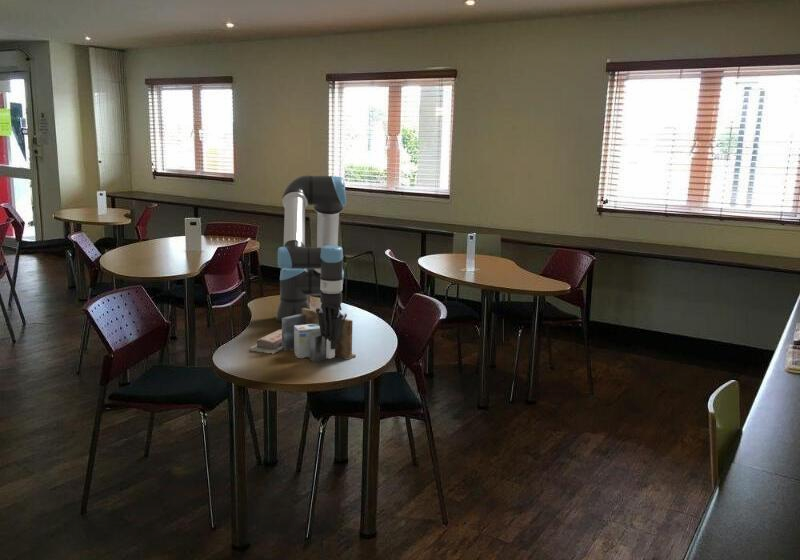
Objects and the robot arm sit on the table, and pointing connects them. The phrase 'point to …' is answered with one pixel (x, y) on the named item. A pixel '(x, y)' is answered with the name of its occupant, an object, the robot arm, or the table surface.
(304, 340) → the light bulb box
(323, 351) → the bookend
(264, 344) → the packaged product
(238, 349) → the table surface
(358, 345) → the table surface
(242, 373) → the table surface
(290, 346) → the rack
